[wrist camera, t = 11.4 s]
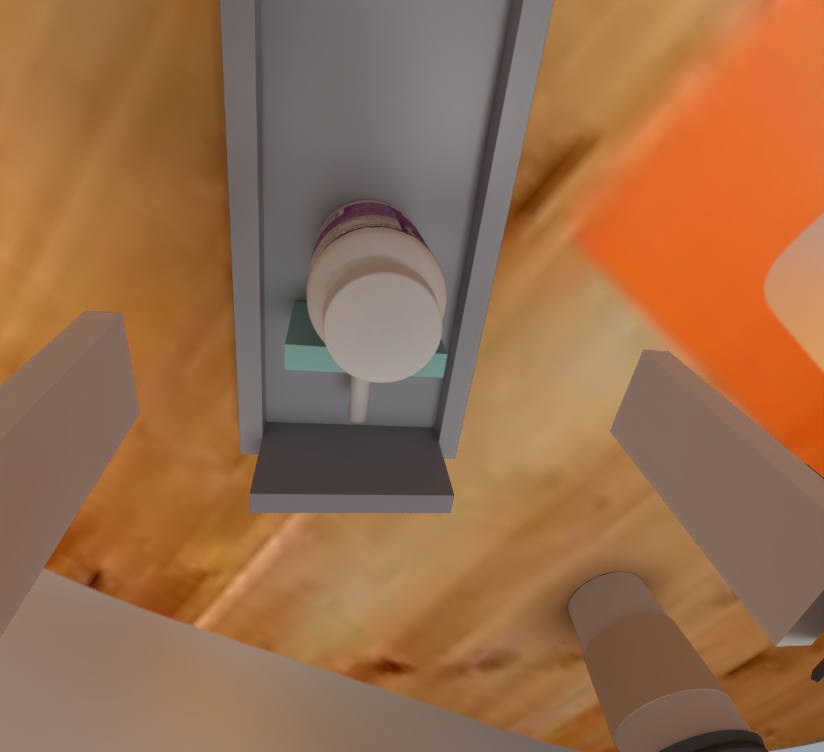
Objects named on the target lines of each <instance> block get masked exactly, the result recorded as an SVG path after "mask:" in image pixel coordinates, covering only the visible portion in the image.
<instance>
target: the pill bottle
mask: <svg viewBox="0 0 824 752" xmlns="http://www.w3.org/2000/svg"><path fill="white" fill-rule="evenodd" d="M306 294H307V308H308V313H309V317H310V320H311V322H312V325H313V327H314V329H315V331H316V332H317V334H318V335H319V337H320V338H321V339H322V341H323V342H324V343H325V345H326V347H327V350H328V352H329V354H330V356H331V357H332V359H333V360H334V361H335V363H336V364H337V365H338V366H339V367H340V368H342V369H343V370H344V371H345V372H347V373H348V374H349V375H352V376H353V377H356V378H358V379H360V380H364V381H368V382H375V383H387V382H395V381H399V380H402V379H405V378H407V377H409V376H411V375H413V374H415V373H416V372H418V371H419V370H420V369H422V368H423V367H424V366H425V365H426V364H427V363H428V362H429V361H430V360H431V358H432V357H433V355H434V354H435V352H436V350H437V348H438V346H439V343H440V340H441V336H442V320H443V317H444V313H445V309H446V302H447V293H446V284H445V280H444V276H443V273H442V271H441V268H440V265H439V263H438V262H437V260H436V258H435V257H434V255H433V254H432V252H431V251H430V249H429V248H428V246H427V244H426V243H425V241H424V239H423V238H422V236H421V235H420V233H419V231H418V230H417V228H416V227H415V226H414V224H413V223H412V222H411V220H410V219H409V218H408V217H407V216H406V215H405V214H404V213H403V212H401V211H400V210H399V209H397V208H395V207H394V206H392V205H389V204H387V203H384V202H380V201H375V200H361V201H355V202H352V203H349V204H346V205H344V206H342V207H340V208H339V209H337V210H336V211H335V212H333V213H332V214H331V215H330V216H329V217H328V218H327V219H326V221H325V222H324V224H323V225H322V227H321V228H320V231H319V233H318V235H317V238H316V242H315V246H314V250H313V255H312V260H311V265H310V271H309V277H308V281H307V290H306Z"/></svg>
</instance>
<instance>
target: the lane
mask: <svg viewBox="0 0 824 752" xmlns="http://www.w3.org/2000/svg"><path fill="white" fill-rule="evenodd" d="M553 3H554V0H220V12H221V34H222V56H223V78H224V100H225V122H226V144H227V166H228V188H229V210H230V232H231V254H232V276H233V298H234V320H235V342H236V364H237V386H238V408H239V429H240V451H241V454H259V455H258V460H257V464H256V468H255V473H254V477H253V482H252V486H251V491H250V513H451V508H452V504H453V499H454V493H453V489H452V486H451V482H450V479H449V476H448V472H447V469H446V465H445V462H444V458H445V459H455V457H456V452H457V448H458V443H459V438H460V434H461V429H462V424H463V420H464V415H465V410H466V406H467V401H468V397H469V392H470V387H471V383H472V378H473V373H474V369H475V364H476V359H477V355H478V350H479V346H480V341H481V336H482V332H483V327H484V322H485V318H486V313H487V308H488V304H489V299H490V295H491V290H492V285H493V281H494V276H495V271H496V267H497V262H498V257H499V253H500V248H501V244H502V239H503V234H504V230H505V225H506V220H507V216H508V211H509V207H510V202H511V197H512V193H513V188H514V183H515V179H516V174H517V169H518V165H519V160H520V156H521V151H522V146H523V142H524V137H525V132H526V128H527V123H528V118H529V114H530V109H531V105H532V100H533V95H534V91H535V86H536V81H537V77H538V72H539V67H540V63H541V58H542V54H543V49H544V44H545V40H546V35H547V30H548V26H549V21H550V16H551V12H552V7H553ZM361 200H375V201H380V202H384V203H387V204H389V205H392V206H394V207H395V208H397V209H399V210H400V211H401V212H403V213H404V214H405V215H406V216H407V217H408V218H409V219H410V220H411V222H412V223H413V224H414V226H415V227H416V228H417V230H418V231H419V233H420V235H421V236H422V238H423V239H424V241H425V243H426V244H427V246H428V248H429V249H430V251H431V252H432V254H433V255H434V257H435V258H436V260H437V262H438V263H439V265H440V268H441V271H442V273H443V276H444V280H445V284H446V293H447V302H446V309H445V313H444V317H443V320H442V336H441V340H442V342H443V345H444V347H445V349H446V352H447V360H446V365H445V371H444V376H443V378H438V377H419V376H409V377H407V378H405V379H402V380H399V381H395V382H387V383H375V382H371V384H370V393H369V403H368V413H367V419H366V421H364V422H361V423H355V422H352V421H350V420H349V419H348V408H349V396H350V384H351V375H349V374H348V373H341V372H322V371H302V370H285V341H286V337H287V332H288V327H289V323H290V318H291V314H292V309H293V305H294V302H307V294H306V290H307V281H308V277H309V271H310V265H311V260H312V255H313V250H314V246H315V242H316V238H317V235H318V233H319V231H320V228H321V227H322V225H323V224H324V222H325V221H326V219H327V218H328V217H329V216H330V215H331V214H332V213H333V212H335V211H336V210H337V209H339V208H340V207H342V206H344V205H346V204H349V203H352V202H355V201H361Z"/></svg>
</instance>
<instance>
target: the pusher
mask: <svg viewBox="0 0 824 752" xmlns="http://www.w3.org/2000/svg"><path fill="white" fill-rule="evenodd" d="M446 360H447V352H446V349H445V347H444V345H443V342H442V340H440V343H439V346H438V348H437V350H436V352H435V354H434V355H433V357H432V358H431V360H430V361H429V362H428V363H427V364H426V365H425V366H424V367H423V368H422V369H420V370H419V371H418V372H416V373H415V374H413V375H411V376H419V377H438V378H443V376H444V371H445V365H446ZM285 370H302V371H322V372H341V373H347V372H345V371H344V370H343V369H342V368H340V367H339V366H338V365H337V364H336V363H335V361H334V360H333V359H332V357H331V356H330V354H329V352H328V350H327V347H326V345H325V343H324V342H323V341H322V339H321V338H320V337H319V335H318V334H317V332H316V331H315V329H314V327H313V325H312V322H311V320H310V317H309V313H308V308H307V302H294V305H293V309H292V314H291V318H290V323H289V327H288V332H287V337H286V341H285ZM370 384H371V382H368V381H364V380H360V379H358V378H356V377H353V376H352V375H351V384H350V396H349V408H348V419H349V420H350V421H352V422H355V423H361V422H364V421H366V419H367V413H368V403H369V393H370Z"/></svg>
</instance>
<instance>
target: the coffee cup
mask: <svg viewBox="0 0 824 752" xmlns="http://www.w3.org/2000/svg"><path fill="white" fill-rule="evenodd" d="M568 610H569V613H570V616H571V619H572V622H573V624H574V627H575V630H576V633H577V635H578V638H579V641H580V644H581V646H582V649H583V652H584V661H585V663H586V666H587V669H588V672H589V675H590V677H591V680H592V683H593V686H594V689H595V691H596V694H597V697H598V700H599V703H600V705H601V708H602V711H603V714H604V716H605V719H606V722H607V725H608V728H609V730H610V733H611V736H612V739H613V742H614V744H615V746H616V747H617V748H618V749H619V751H620V752H768V751H767V750H766V749H765V747H764V743H763V740H762V738H761V737H760V736H759V735H758V734H756V733H754V732H752V730H751V729H750V727H749V726H748V725H747V723H746V722H745V721H744V719H743V718H742V716H741V715H740V714H739V712H738V711H737V710H736V708H735V707H734V706H733V703H732V700H731V698H730V696H729V695H728V694H727V692H726V691H725V690H724V688H723V687H722V686H721V684H720V683H719V682H718V680H717V679H716V677H715V676H714V675H713V673H712V672H711V671H710V669H709V668H708V667H707V665H706V664H705V662H704V661H703V660H702V658H701V657H700V656H699V654H698V653H697V652H696V650H695V649H694V648H693V646H692V645H691V643H690V642H689V641H688V639H687V638H686V637H685V635H684V634H683V633H682V631H681V630H680V628H679V627H678V626H677V624H676V623H675V622H674V621H673V620H672V619H671V618H669V617H668V615H667V614H666V612H665V611H664V610H663V608H662V607H661V606H660V604H659V603H658V601H657V600H656V599H655V597H654V596H653V595H652V593H651V592H650V591H649V589H648V588H647V586H646V585H645V584H644V582H643V581H642V580H641V578H640V577H638V576H637V575H635V574H632V573H628V572H613V573H608V574H604V575H601V576H598V577H596V578H594V579H592V580H590V581H588V582H587V583H585V584H584V585H582V586H581V587H580V588H579V589H578V590H577V591H576V592H575V593H574V594H573V596H572V597H571V599H570V601H569V605H568Z"/></svg>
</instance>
